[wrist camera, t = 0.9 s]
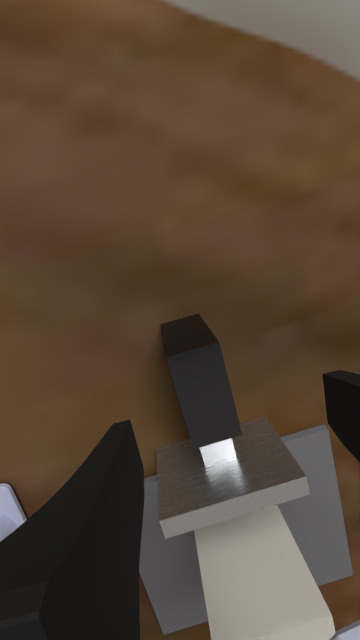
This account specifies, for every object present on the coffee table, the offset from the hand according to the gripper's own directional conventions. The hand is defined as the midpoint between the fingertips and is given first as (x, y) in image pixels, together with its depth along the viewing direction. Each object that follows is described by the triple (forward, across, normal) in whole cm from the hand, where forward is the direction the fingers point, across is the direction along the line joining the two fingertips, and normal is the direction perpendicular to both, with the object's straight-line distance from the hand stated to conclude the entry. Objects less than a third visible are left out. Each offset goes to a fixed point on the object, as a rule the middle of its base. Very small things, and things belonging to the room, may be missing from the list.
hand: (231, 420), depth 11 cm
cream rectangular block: (+9, 0, +13) cm, 16 cm away
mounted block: (+10, 0, +3) cm, 10 cm away
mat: (+9, 0, +16) cm, 18 cm away
